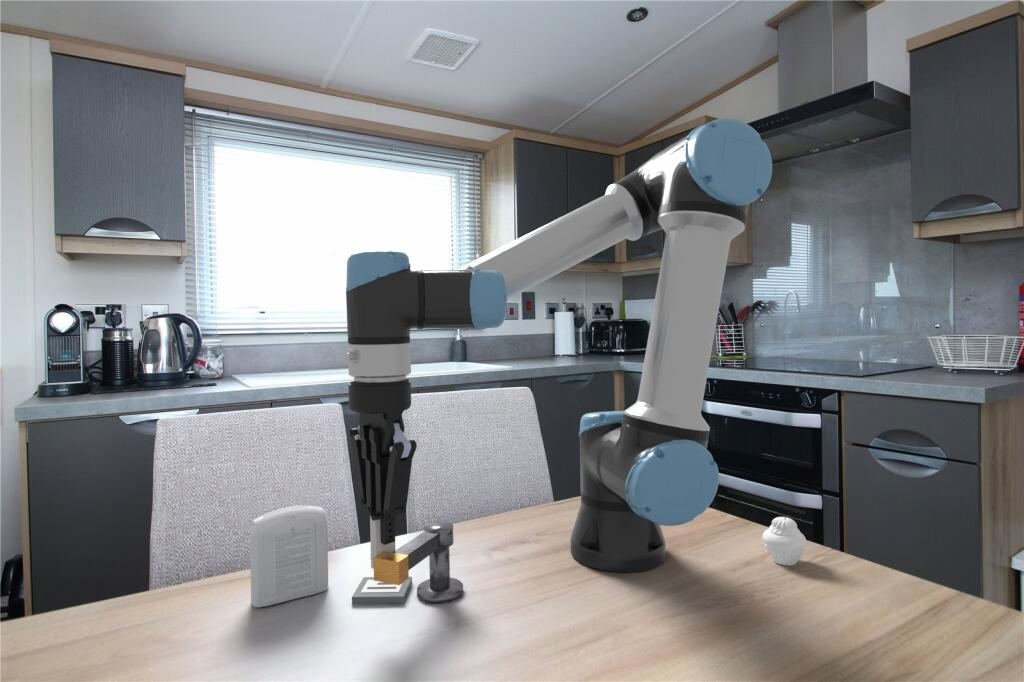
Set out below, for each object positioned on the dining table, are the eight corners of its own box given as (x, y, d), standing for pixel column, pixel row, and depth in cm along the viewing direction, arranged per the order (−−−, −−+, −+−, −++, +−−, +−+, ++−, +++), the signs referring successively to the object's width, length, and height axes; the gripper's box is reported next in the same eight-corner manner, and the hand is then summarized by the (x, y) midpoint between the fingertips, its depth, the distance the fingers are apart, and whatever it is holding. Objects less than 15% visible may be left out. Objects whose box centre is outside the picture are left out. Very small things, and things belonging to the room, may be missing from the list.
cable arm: (434, 537, 82) (433, 518, 82) (458, 541, 81) (458, 521, 81) (372, 580, 69) (372, 557, 69) (400, 585, 67) (400, 562, 67)
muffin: (793, 552, 92) (793, 509, 91) (815, 569, 85) (815, 522, 85) (755, 554, 91) (755, 510, 91) (774, 570, 85) (774, 524, 85)
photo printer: (324, 580, 85) (322, 497, 84) (332, 591, 81) (330, 505, 81) (248, 600, 79) (245, 511, 79) (254, 612, 75) (251, 519, 75)
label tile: (412, 583, 83) (411, 575, 83) (403, 603, 77) (403, 595, 77) (363, 583, 83) (363, 576, 83) (351, 604, 77) (351, 595, 77)
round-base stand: (465, 582, 83) (464, 537, 83) (460, 603, 77) (459, 555, 77) (421, 582, 83) (420, 537, 83) (413, 604, 77) (412, 555, 77)
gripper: (328, 376, 73) (332, 558, 74) (377, 385, 63) (381, 594, 64) (381, 372, 78) (384, 543, 79) (434, 379, 68) (437, 574, 69)
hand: (383, 565), depth 72 cm, fingers closed
